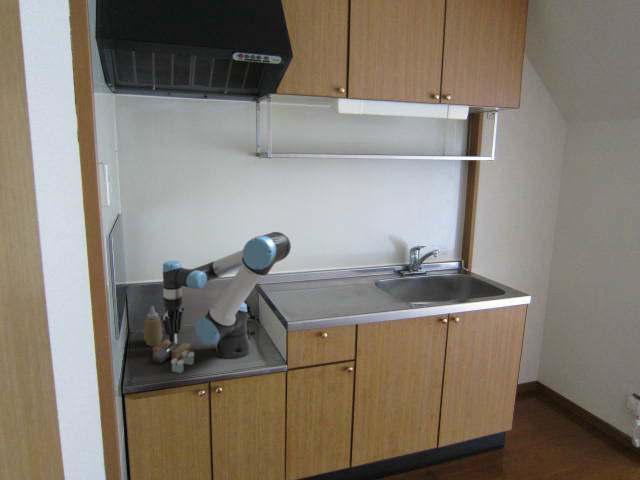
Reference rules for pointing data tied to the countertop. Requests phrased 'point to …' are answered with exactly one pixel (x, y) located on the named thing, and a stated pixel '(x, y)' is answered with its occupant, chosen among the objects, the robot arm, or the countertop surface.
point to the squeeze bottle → (152, 328)
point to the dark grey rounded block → (164, 353)
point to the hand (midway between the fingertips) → (173, 347)
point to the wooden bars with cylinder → (175, 353)
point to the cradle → (182, 361)
